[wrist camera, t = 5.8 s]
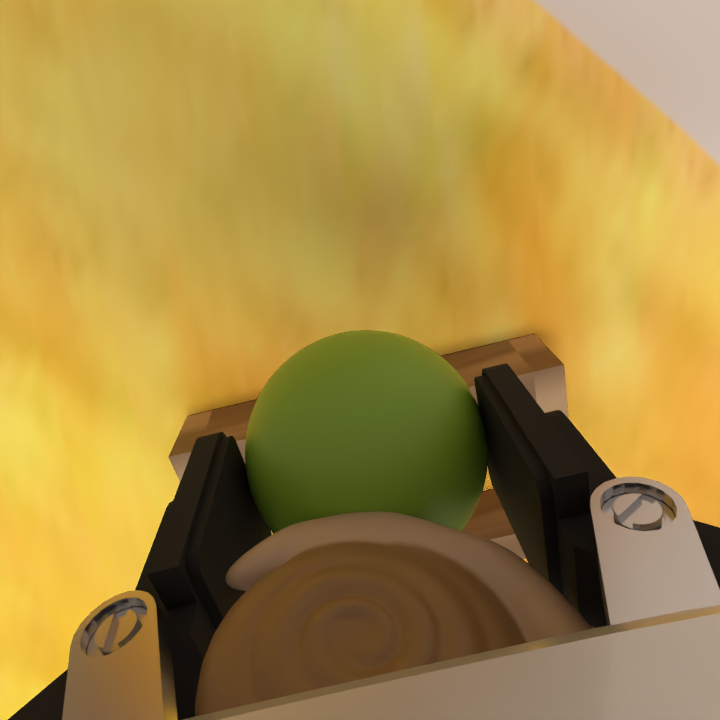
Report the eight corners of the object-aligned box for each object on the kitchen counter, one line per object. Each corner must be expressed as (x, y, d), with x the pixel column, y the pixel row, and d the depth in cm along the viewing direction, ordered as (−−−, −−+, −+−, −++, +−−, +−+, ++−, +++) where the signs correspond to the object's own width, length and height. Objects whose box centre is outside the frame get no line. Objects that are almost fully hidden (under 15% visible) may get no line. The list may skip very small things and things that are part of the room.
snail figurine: (481, 471, 16) (791, 1233, 5) (266, 473, 16) (114, 1292, 5) (507, 299, 14) (1170, 1022, 3) (255, 296, 13) (-83, 1106, 3)
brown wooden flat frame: (187, 416, 30) (168, 456, 27) (534, 333, 29) (563, 364, 26) (253, 567, 35) (244, 619, 32) (551, 501, 34) (578, 546, 31)
